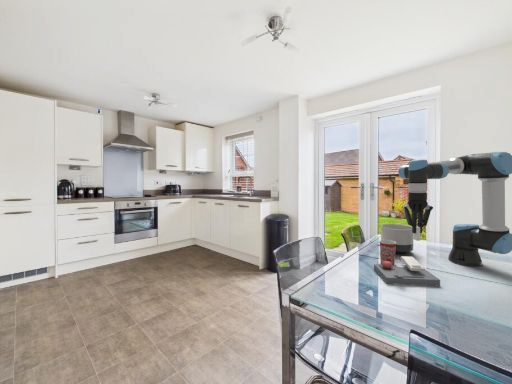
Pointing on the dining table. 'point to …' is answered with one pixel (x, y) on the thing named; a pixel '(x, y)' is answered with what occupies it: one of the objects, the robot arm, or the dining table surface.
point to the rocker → (412, 263)
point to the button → (387, 264)
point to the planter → (398, 236)
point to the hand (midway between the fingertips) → (416, 239)
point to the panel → (406, 276)
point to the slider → (399, 270)
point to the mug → (387, 250)
